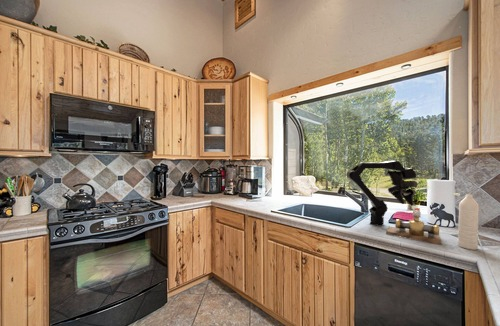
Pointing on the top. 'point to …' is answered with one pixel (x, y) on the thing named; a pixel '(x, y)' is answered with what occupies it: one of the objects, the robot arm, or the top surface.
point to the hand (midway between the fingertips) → (407, 204)
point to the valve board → (423, 238)
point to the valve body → (417, 227)
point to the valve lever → (417, 212)
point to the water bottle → (468, 222)
